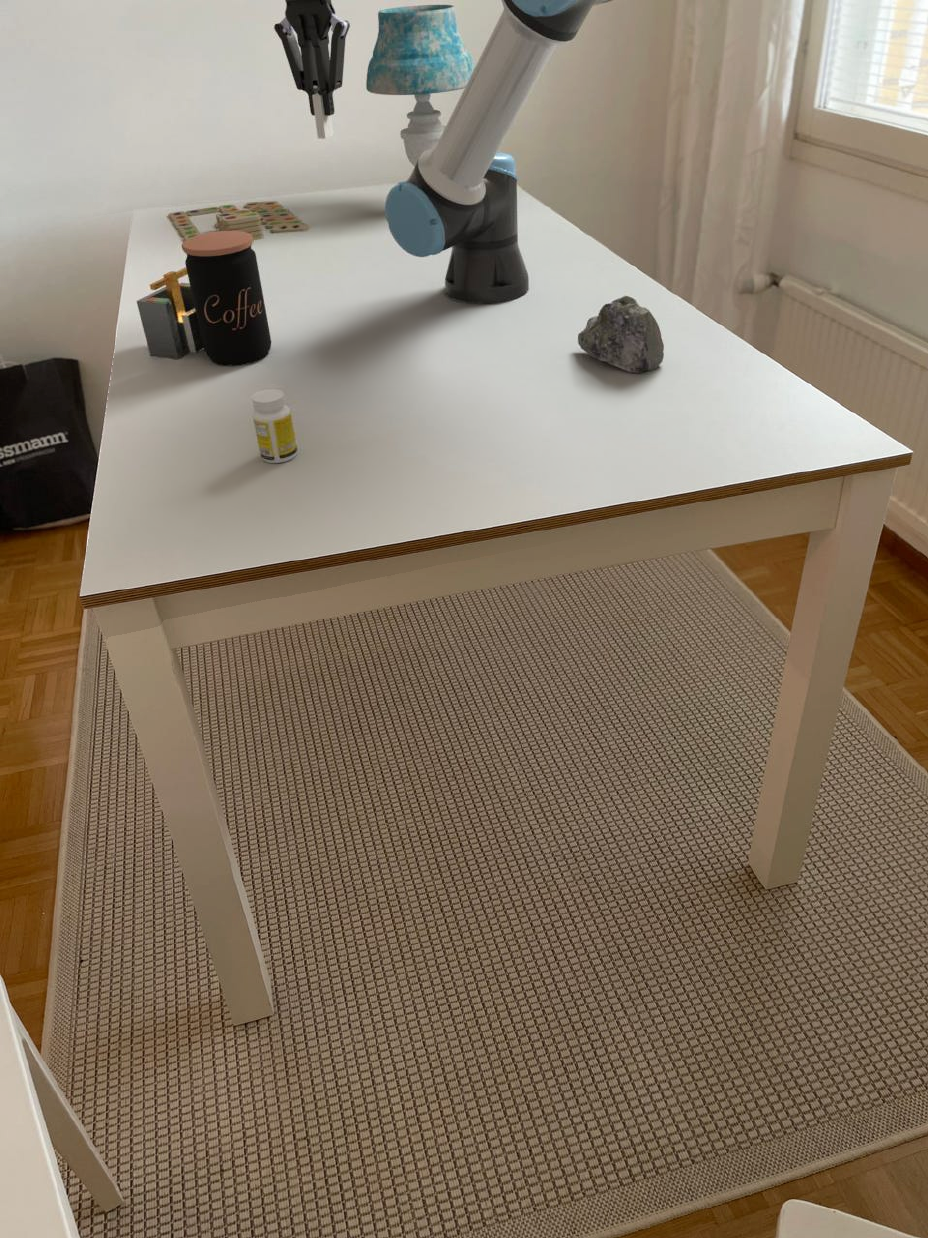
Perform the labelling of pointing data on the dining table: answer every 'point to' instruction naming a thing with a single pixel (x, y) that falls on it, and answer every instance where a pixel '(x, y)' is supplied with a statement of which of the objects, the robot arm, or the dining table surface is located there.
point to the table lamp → (419, 66)
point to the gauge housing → (164, 322)
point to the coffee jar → (228, 297)
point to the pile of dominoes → (242, 219)
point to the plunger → (181, 311)
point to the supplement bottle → (274, 426)
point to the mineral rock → (624, 336)
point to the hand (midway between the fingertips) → (325, 136)
